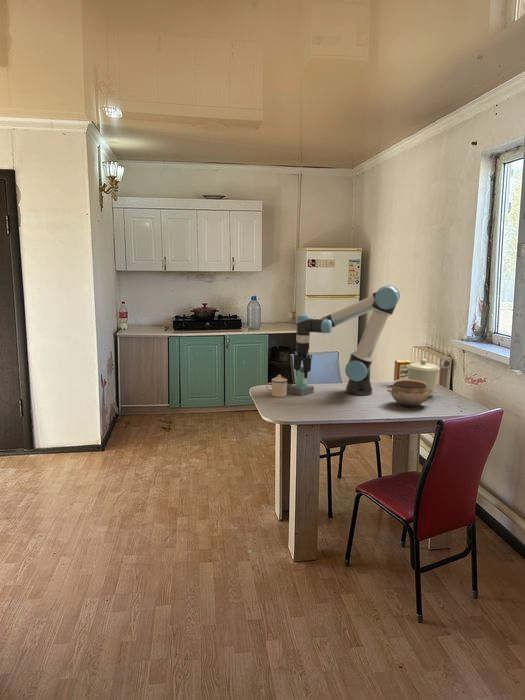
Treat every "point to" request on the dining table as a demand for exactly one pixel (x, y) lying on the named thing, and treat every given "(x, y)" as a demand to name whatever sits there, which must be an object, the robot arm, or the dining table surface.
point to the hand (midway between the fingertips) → (301, 382)
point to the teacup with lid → (278, 386)
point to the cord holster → (288, 386)
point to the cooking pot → (409, 392)
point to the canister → (424, 373)
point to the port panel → (301, 390)
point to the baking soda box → (401, 369)
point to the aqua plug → (300, 378)
